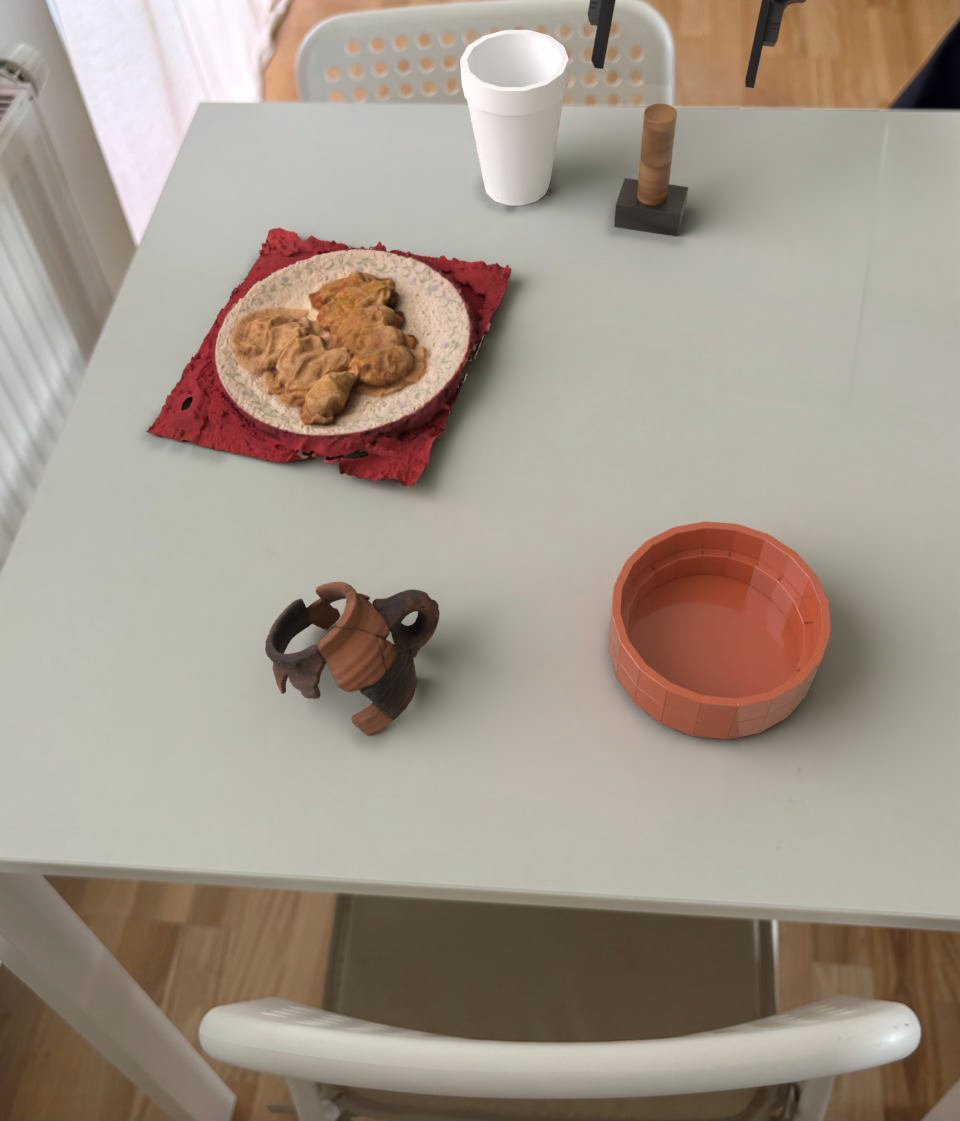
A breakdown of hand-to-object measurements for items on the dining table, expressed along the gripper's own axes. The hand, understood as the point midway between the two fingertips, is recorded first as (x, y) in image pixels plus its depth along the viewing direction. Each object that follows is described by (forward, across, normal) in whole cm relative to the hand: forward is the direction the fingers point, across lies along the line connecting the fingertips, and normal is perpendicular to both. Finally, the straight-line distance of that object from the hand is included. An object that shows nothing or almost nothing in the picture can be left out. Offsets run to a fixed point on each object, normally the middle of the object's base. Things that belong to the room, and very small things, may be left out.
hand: (672, 74), depth 97 cm
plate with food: (+29, +22, +13) cm, 39 cm away
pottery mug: (+49, +10, +33) cm, 60 cm away
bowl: (+43, -13, +28) cm, 53 cm away
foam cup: (+11, +13, -5) cm, 18 cm away
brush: (+12, 0, -4) cm, 12 cm away
